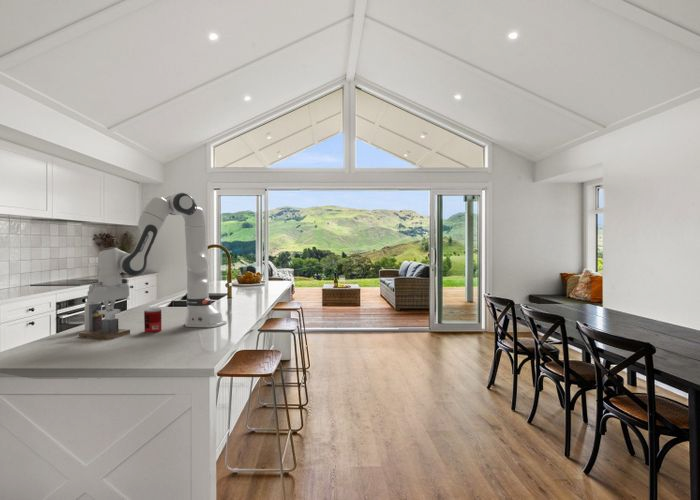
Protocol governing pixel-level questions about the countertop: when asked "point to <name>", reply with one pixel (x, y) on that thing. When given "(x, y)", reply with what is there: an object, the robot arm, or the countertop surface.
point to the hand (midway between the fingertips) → (109, 310)
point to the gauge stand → (102, 326)
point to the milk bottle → (86, 315)
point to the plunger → (109, 313)
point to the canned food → (152, 320)
